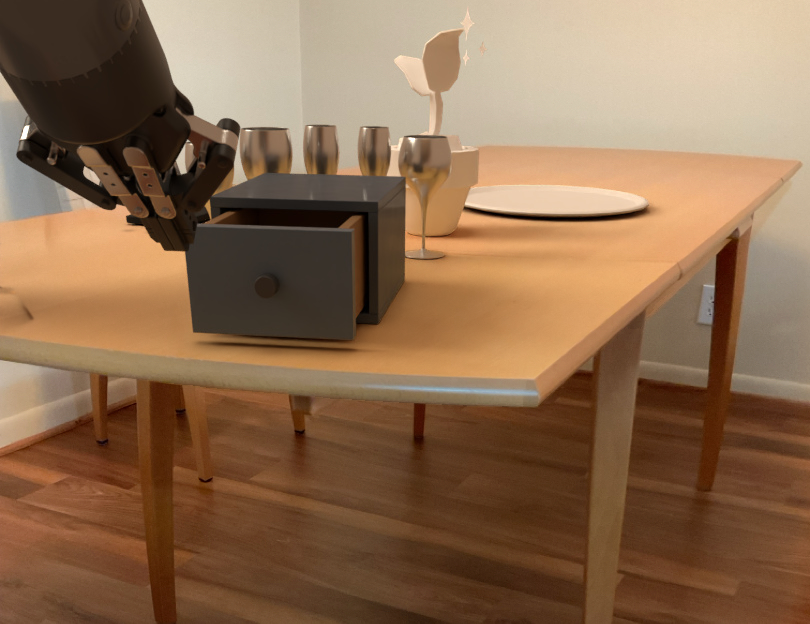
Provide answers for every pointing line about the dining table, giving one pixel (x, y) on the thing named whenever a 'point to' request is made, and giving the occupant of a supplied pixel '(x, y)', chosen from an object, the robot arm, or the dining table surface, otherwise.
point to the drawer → (279, 273)
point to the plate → (553, 201)
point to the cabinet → (339, 194)
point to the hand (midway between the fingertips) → (179, 239)
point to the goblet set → (272, 153)
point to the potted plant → (431, 80)
